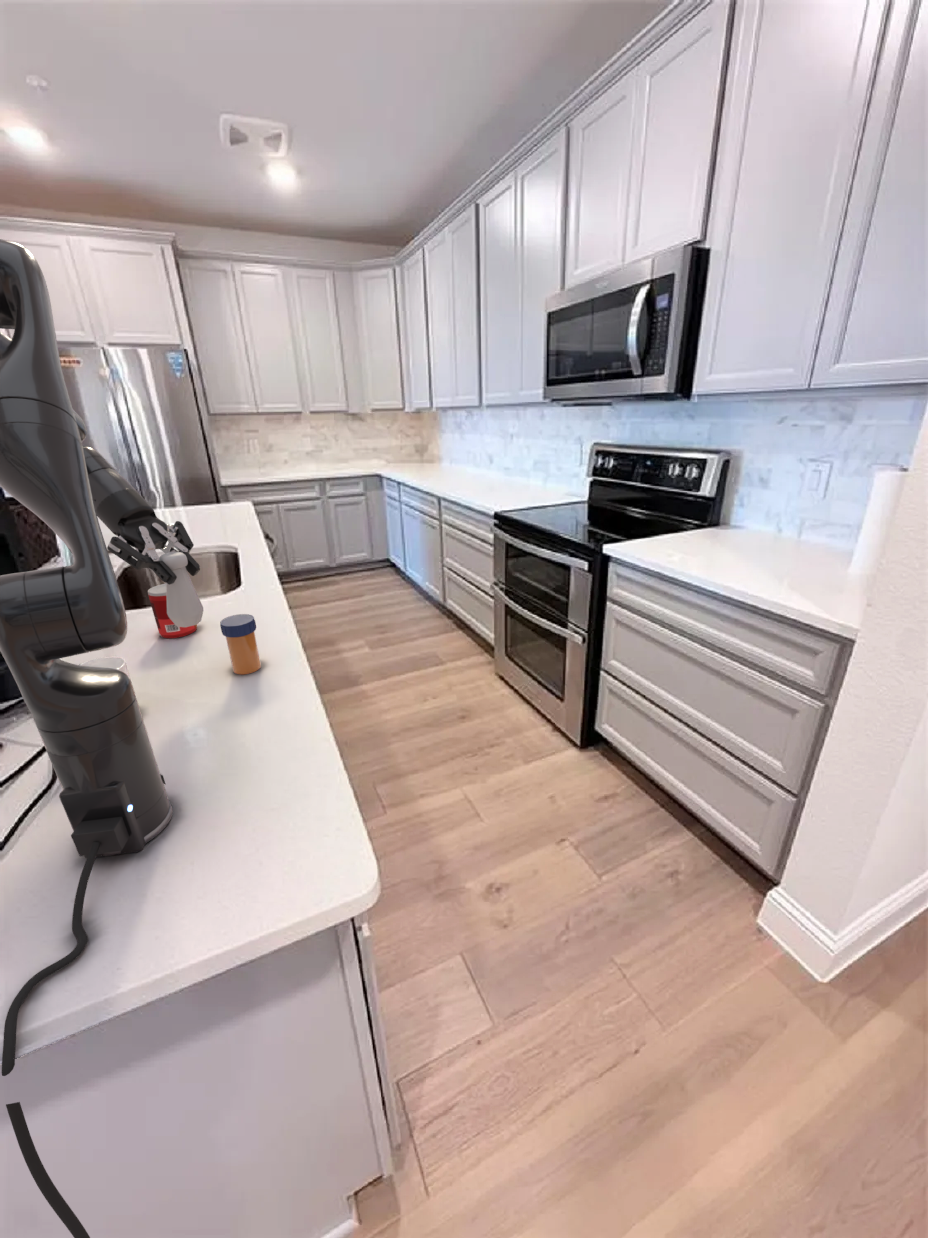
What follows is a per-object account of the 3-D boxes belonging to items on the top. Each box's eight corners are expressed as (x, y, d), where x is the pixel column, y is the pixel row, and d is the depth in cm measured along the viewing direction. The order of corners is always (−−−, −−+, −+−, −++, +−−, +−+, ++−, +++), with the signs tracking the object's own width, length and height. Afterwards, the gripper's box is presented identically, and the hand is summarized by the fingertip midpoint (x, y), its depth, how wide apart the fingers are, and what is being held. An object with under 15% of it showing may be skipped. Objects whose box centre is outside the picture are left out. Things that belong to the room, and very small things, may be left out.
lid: (252, 636, 96) (250, 624, 95) (218, 638, 95) (215, 627, 94) (259, 623, 101) (257, 612, 100) (227, 626, 100) (224, 615, 99)
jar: (258, 673, 99) (248, 626, 95) (230, 675, 98) (219, 628, 95) (263, 661, 104) (254, 616, 100) (236, 663, 103) (227, 618, 99)
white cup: (134, 702, 90) (118, 651, 86) (147, 719, 85) (131, 667, 81) (81, 720, 85) (62, 668, 81) (91, 740, 80) (71, 685, 76)
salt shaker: (191, 630, 89) (173, 559, 84) (162, 628, 90) (143, 557, 85) (212, 617, 94) (197, 549, 89) (185, 615, 95) (169, 548, 90)
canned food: (204, 629, 120) (194, 585, 115) (171, 641, 113) (159, 595, 109) (186, 622, 123) (175, 579, 119) (153, 634, 117) (140, 589, 113)
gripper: (80, 494, 79) (157, 576, 80) (160, 481, 91) (225, 552, 92) (68, 525, 83) (141, 603, 84) (146, 509, 95) (209, 577, 96)
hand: (185, 576), depth 88 cm, fingers closed on salt shaker, 4 cm apart
